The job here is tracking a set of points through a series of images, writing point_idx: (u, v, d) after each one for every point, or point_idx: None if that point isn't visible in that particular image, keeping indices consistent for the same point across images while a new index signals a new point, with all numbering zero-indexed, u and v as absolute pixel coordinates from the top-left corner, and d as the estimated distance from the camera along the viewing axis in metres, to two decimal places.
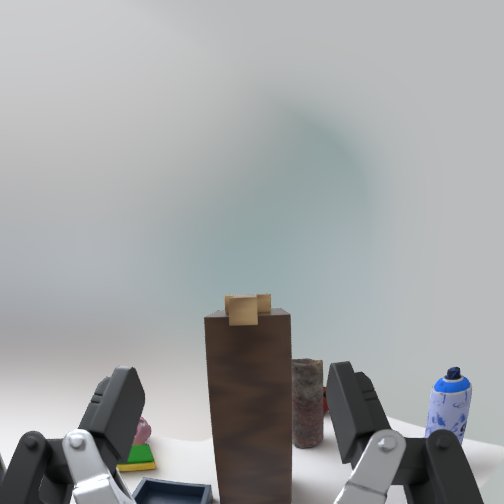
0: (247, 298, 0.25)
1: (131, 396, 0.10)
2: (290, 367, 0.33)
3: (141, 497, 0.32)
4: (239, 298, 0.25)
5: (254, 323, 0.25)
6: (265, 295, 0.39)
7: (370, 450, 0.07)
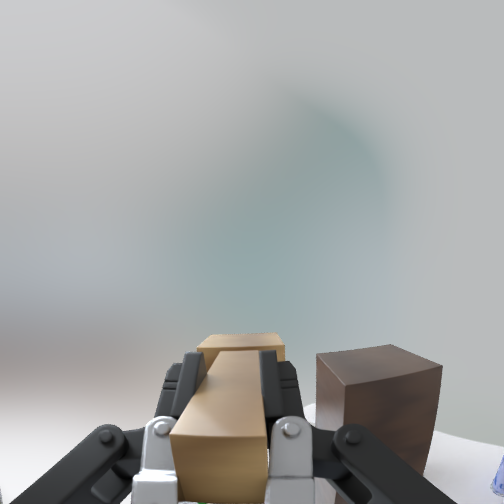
0: (234, 440, 0.06)
1: (202, 380, 0.11)
2: (433, 425, 0.21)
3: None
4: (206, 439, 0.06)
5: (258, 502, 0.06)
6: (274, 347, 0.19)
7: (271, 434, 0.08)
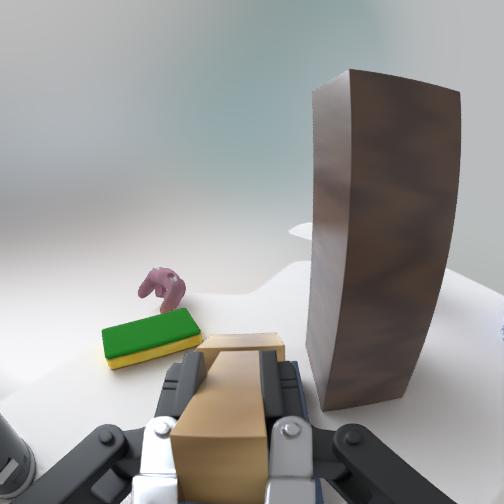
0: (234, 440, 0.06)
1: (201, 380, 0.11)
2: (459, 169, 0.19)
3: None
4: (206, 439, 0.06)
5: (258, 502, 0.06)
6: (275, 347, 0.19)
7: (272, 434, 0.08)
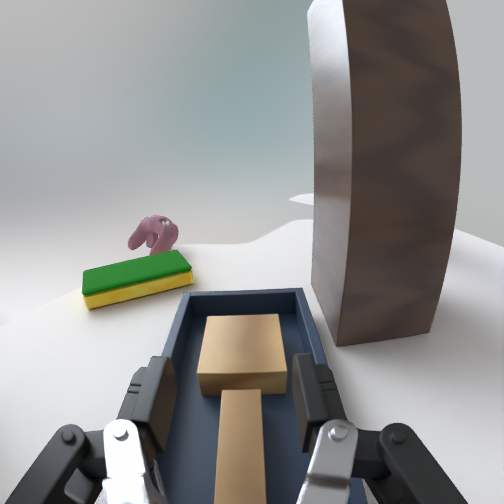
0: None
1: (167, 385, 0.11)
2: (455, 53, 0.15)
3: (186, 330, 0.25)
4: None
5: None
6: (277, 373, 0.18)
7: (320, 438, 0.07)
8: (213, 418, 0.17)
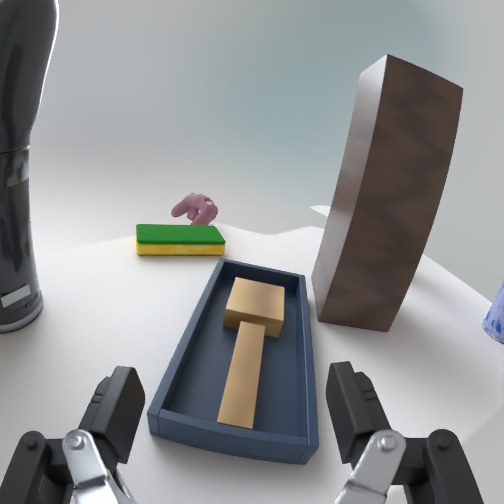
0: (240, 427, 0.17)
1: (131, 396, 0.10)
2: (454, 138, 0.25)
3: (217, 284, 0.37)
4: (230, 425, 0.17)
5: None
6: (277, 320, 0.30)
7: (370, 450, 0.07)
8: (228, 341, 0.29)
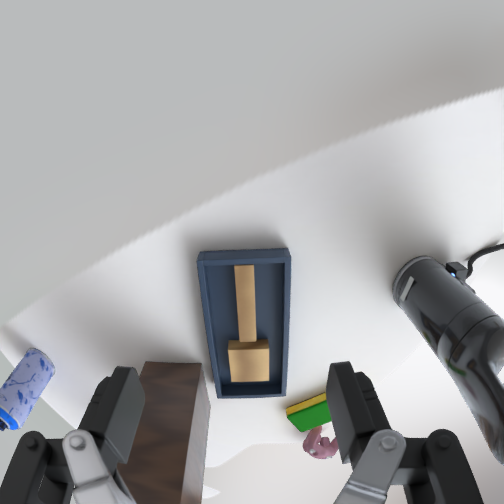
0: None
1: (131, 396, 0.10)
2: None
3: None
4: (246, 264, 0.37)
5: None
6: (232, 349, 0.42)
7: (370, 450, 0.07)
8: (261, 328, 0.43)
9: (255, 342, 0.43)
